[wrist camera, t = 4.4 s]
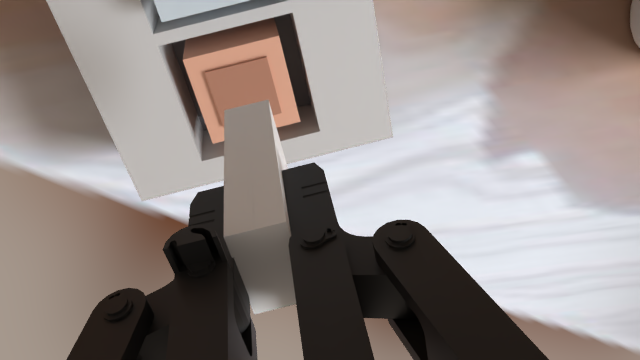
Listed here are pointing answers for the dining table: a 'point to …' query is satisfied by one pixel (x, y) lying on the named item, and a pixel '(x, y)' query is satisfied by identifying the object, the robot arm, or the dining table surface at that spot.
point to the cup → (635, 21)
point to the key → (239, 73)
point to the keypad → (178, 95)
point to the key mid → (189, 7)
